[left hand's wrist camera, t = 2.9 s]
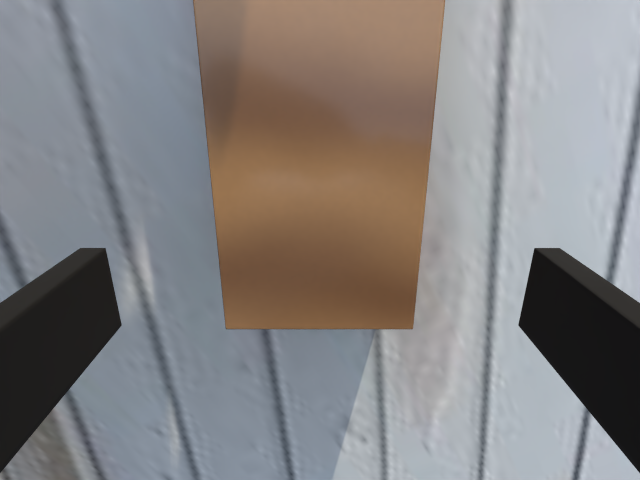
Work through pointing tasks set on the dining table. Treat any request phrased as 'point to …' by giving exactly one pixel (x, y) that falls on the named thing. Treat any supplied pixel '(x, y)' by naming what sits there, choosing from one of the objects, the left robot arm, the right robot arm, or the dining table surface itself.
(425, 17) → the wooden beam
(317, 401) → the dining table surface
